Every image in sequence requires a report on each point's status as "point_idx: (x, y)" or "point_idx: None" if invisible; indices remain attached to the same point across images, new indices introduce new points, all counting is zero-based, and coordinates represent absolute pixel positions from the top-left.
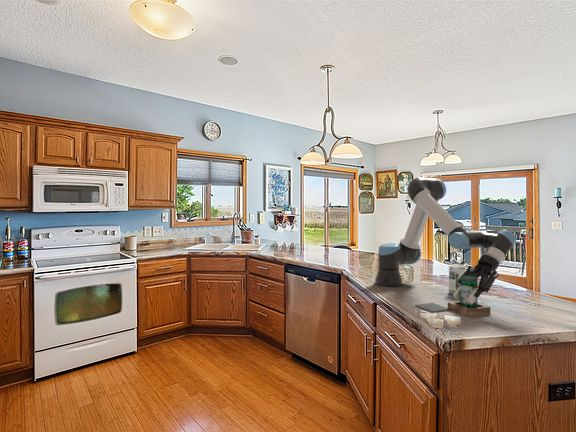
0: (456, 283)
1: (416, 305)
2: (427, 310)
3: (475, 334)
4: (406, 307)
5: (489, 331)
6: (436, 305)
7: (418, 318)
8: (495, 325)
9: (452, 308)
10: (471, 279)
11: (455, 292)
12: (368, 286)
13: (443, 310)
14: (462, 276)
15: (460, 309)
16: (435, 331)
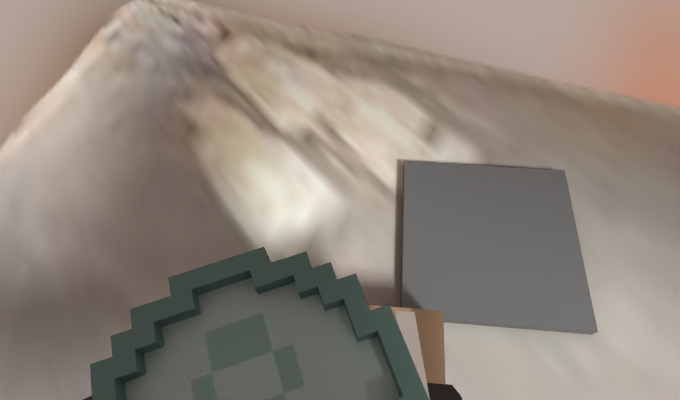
0: None
1: (552, 171)
2: (444, 166)
3: (76, 105)
4: (544, 115)
5: (38, 189)
6: (515, 294)
7: (356, 52)
8: (40, 312)
9: None
10: (145, 313)
11: (416, 336)
12: None
13: (402, 252)
14: (349, 312)
15: None
16: (205, 11)
